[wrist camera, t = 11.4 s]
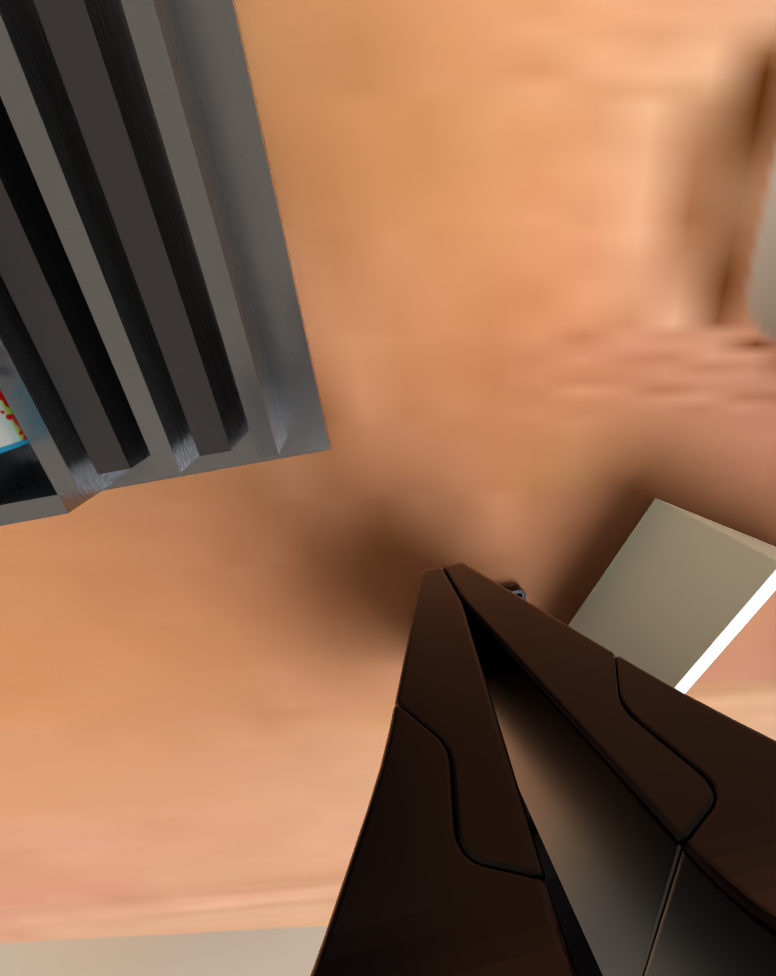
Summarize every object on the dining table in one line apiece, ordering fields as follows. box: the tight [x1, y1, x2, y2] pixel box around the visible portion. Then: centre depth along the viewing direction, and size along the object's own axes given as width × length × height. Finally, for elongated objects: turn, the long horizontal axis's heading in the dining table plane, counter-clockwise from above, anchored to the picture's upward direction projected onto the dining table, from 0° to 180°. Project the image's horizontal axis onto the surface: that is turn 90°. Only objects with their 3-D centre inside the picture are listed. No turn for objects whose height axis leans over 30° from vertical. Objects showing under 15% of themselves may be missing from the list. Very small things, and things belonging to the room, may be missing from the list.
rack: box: [0, 0, 330, 526], centre depth 13 cm, size 18×15×4 cm
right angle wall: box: [568, 498, 776, 694], centre depth 23 cm, size 12×12×8 cm
